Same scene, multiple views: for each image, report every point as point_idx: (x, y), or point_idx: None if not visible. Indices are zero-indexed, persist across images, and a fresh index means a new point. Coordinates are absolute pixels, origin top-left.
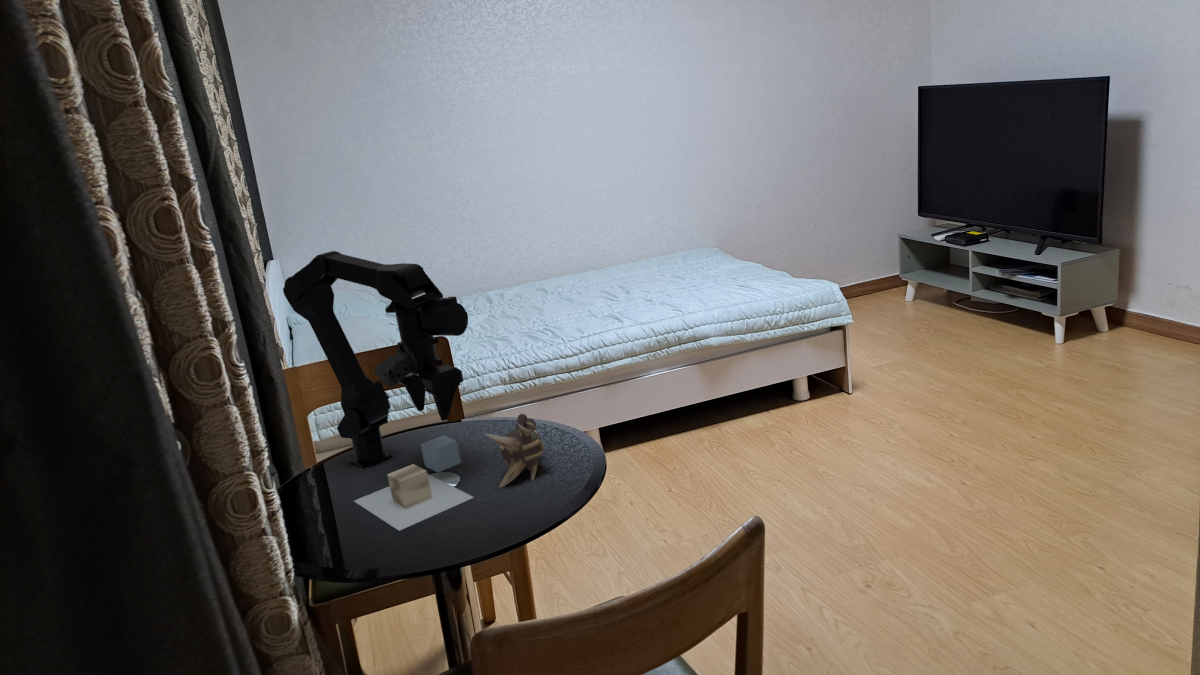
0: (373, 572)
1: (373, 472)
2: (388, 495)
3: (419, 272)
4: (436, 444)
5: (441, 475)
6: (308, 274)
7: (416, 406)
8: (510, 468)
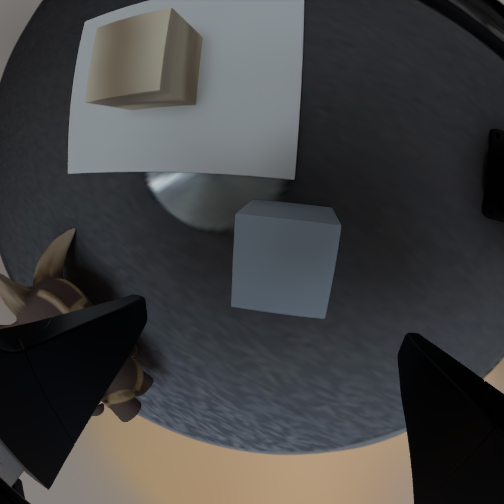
0: None
1: (448, 120)
2: (244, 41)
3: None
4: (272, 253)
5: (238, 200)
6: None
7: (421, 345)
8: (44, 265)
